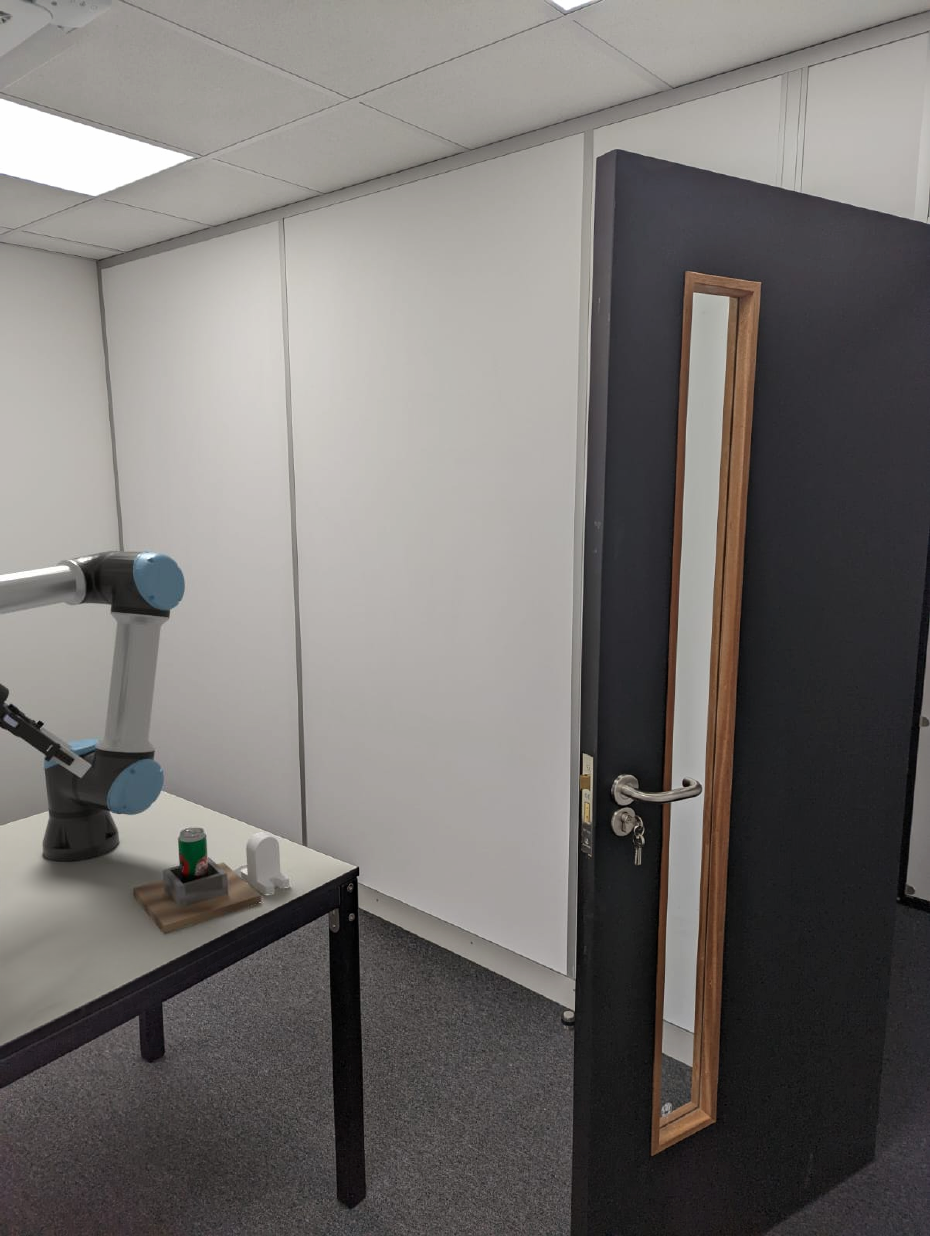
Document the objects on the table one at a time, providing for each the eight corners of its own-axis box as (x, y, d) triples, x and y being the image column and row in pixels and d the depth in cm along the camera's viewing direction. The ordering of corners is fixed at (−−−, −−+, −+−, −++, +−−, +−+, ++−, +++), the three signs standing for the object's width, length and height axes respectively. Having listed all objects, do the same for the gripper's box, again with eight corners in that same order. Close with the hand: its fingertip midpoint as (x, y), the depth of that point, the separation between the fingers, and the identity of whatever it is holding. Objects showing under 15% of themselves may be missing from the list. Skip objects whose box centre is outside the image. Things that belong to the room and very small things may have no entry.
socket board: (133, 895, 165) (131, 868, 164) (223, 869, 176) (222, 843, 175) (164, 933, 151) (162, 904, 150) (261, 902, 162) (259, 875, 161)
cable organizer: (263, 871, 175) (261, 824, 173) (290, 887, 168) (288, 838, 166) (240, 879, 171) (237, 832, 170) (266, 896, 164) (264, 846, 163)
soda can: (201, 899, 160) (198, 838, 158) (176, 897, 161) (172, 836, 159) (213, 886, 165) (210, 827, 163) (189, 884, 166) (186, 825, 164)
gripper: (-52, 698, 155) (46, 761, 166) (-31, 728, 135) (79, 798, 147) (-22, 665, 157) (73, 729, 169) (4, 690, 138) (109, 761, 149)
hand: (76, 761), depth 158 cm, fingers open, 13 cm apart
